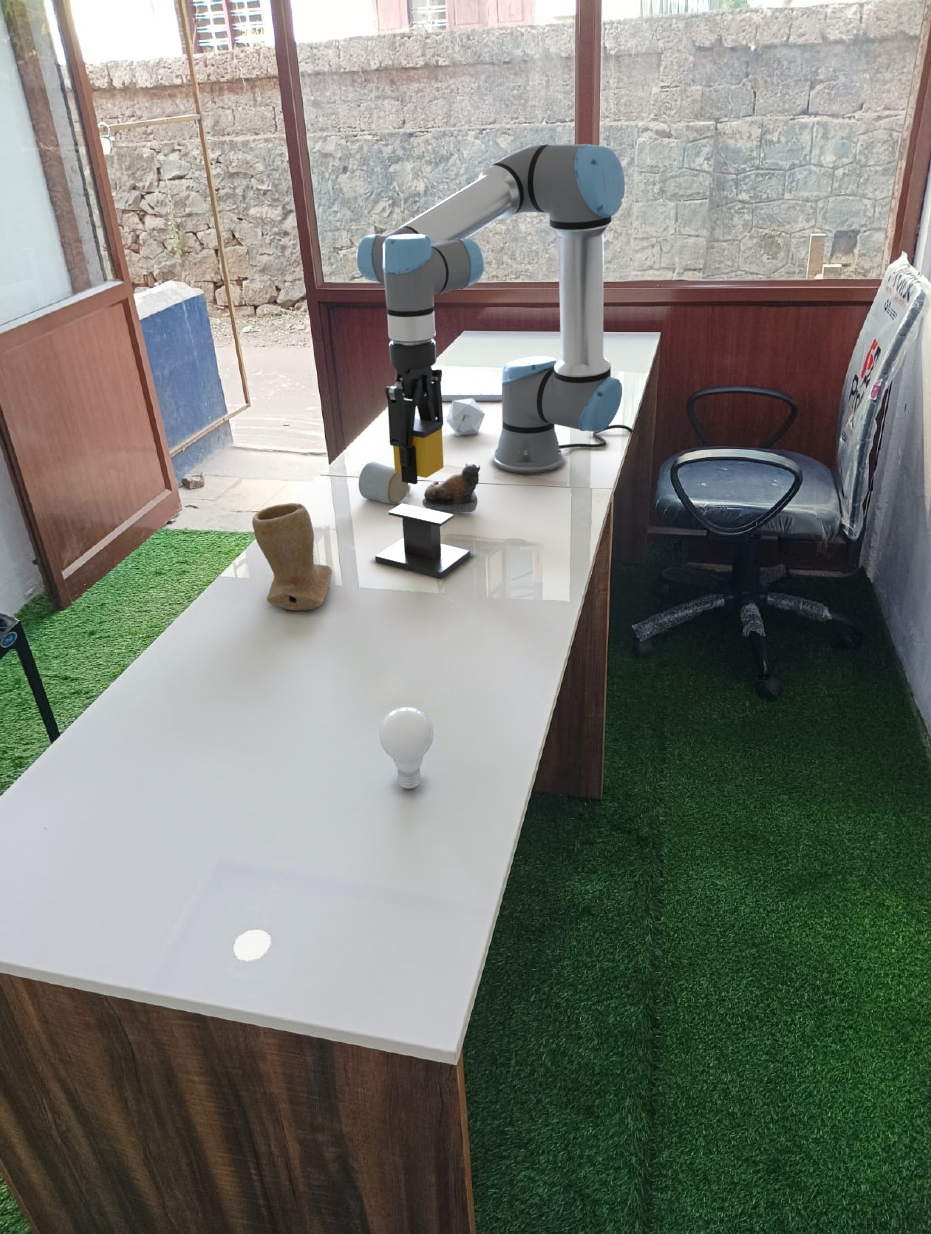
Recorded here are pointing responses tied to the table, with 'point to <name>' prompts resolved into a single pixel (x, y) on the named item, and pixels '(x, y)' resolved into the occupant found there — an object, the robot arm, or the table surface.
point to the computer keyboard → (471, 390)
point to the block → (425, 448)
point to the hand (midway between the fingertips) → (419, 476)
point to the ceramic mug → (382, 484)
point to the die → (465, 417)
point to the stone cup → (291, 557)
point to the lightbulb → (406, 742)
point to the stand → (422, 543)
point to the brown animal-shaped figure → (454, 492)
